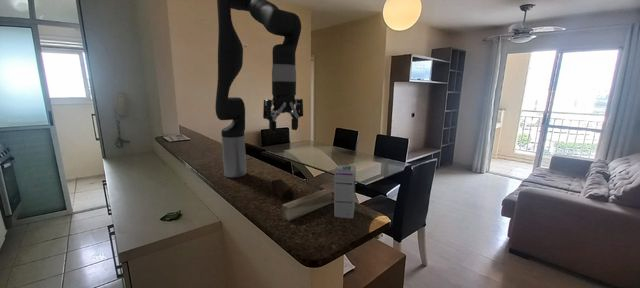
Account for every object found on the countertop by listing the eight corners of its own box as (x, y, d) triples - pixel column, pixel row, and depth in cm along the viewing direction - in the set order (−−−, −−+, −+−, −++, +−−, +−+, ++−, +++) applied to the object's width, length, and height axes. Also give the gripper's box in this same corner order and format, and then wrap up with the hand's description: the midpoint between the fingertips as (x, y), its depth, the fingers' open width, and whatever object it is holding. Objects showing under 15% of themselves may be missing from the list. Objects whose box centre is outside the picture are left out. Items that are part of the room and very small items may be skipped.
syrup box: (353, 219, 77) (355, 171, 74) (333, 217, 78) (334, 170, 75) (354, 210, 82) (356, 165, 79) (336, 208, 83) (337, 164, 80)
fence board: (282, 217, 77) (282, 204, 77) (325, 200, 90) (325, 188, 89) (289, 221, 75) (288, 208, 74) (331, 202, 88) (331, 191, 87)
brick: (271, 192, 96) (270, 180, 95) (281, 190, 98) (281, 178, 97) (282, 203, 87) (282, 190, 86) (293, 200, 89) (293, 187, 88)
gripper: (294, 80, 90) (293, 127, 94) (257, 79, 80) (259, 131, 84) (308, 81, 85) (308, 130, 89) (272, 79, 75) (272, 135, 79)
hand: (284, 131), depth 86 cm, fingers open, 8 cm apart
